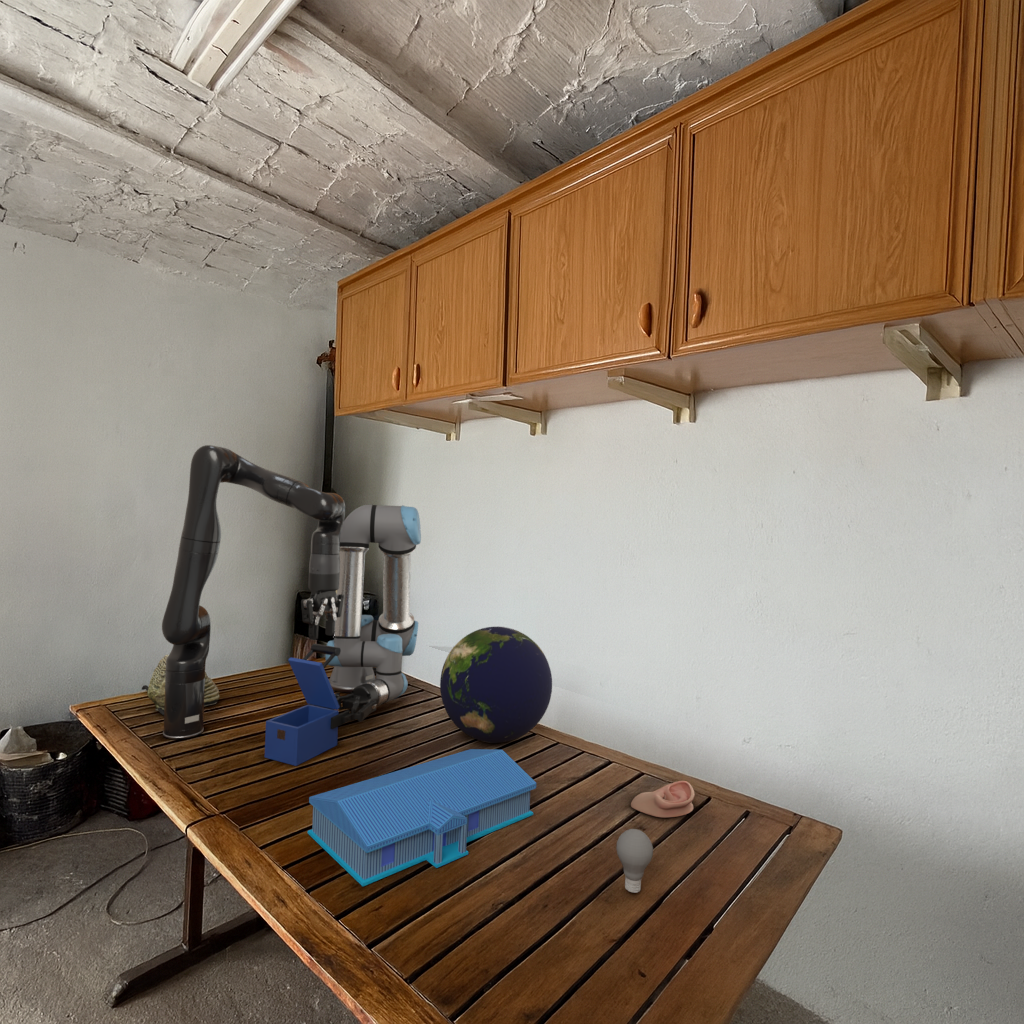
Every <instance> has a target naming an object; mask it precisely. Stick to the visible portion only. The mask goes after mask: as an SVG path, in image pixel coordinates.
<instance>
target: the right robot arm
mask: <svg viewBox="0 0 1024 1024" xmlns="http://www.w3.org/2000/svg"><path fill="white" fill-rule="evenodd" d="M420 519H421V518H420V512H419V510H418V509H417V508H416V507H414V506H406V505H403V504H402V505H383V504H363V505H361V506H359V507H357V508H354V509H353V510H352V511H351V512H350V513H349V514H348V515H347V517H346V518H344V522H343V527H342V531H341V534H340V553H339V554H340V577H339V589H338V590H336V594H342V595H344V601H343V607H342V613H341V617H338V618H337V619H336V621H335V628H334V629H335V630H334V638H333V639H332V640H329V641H327V643H326V646H333V647H339V648H340V649H341V652H340V655H339V656H335V657H334V658H333V659H332V660H331V661H330V662H329V664H328V665H327V666H329V667H333V668H332V672H331V675H330V677H329V682H330V684H331V687H332V689H333V692H336V693H334V694H335V697H336V699H337V701H338V704H339V706H340V707H339V709H338V710H337V711H343V712H341V713H338V715H336V716H334V717H331V729H334V728H336V727H338V728H339V727H340V726H342V725H345V724H346V723H349V722H354V721H356V720H357V722H362V721H364V720H365V719H366V718H367V717H368V716H370V714H372V713H374V712H376V711H377V707H379V706H382V705H384V704H386V703H388V702H391V701H394V700H396V699H398V698H400V697H401V696H402V695H403V694H404V693H406V691H407V689H408V684H409V681H408V679H407V676H406V674H404V673H403V672H402V669H403V668H402V667H403V666H402V665H403V657H410V656H412V655H413V654H414V652H415V649H416V644H417V640H418V639H417V638H418V631H419V622H418V621H417V620H415V617H414V615H413V614H412V613H411V577H412V576H411V575H412V574H411V573H412V571H411V570H412V553H414V551H416V549H417V545H420V544H421V541H422V533H421V532H422V531H421V529H422V528H421V520H420ZM370 543H373V544H378V550H379V551H380V552H381V553H382V555H383V557H382V558H383V560H382V561H383V565H382V567H383V569H382V571H383V573H382V575H383V576H382V578H383V580H382V581H383V582H382V584H383V585H382V586H383V588H382V593H383V594H382V600H383V603H382V604H383V605H382V606H383V607H382V613H381V614H380V615H379V617H378V620H377V619H374V617H373V615H371V614H363V599H364V598H363V596H364V583H365V581H364V580H365V579H364V578H365V563H366V554H367V552H368V551H369V550H370ZM337 611H338V607H337V608H336V612H337ZM330 656H331V655H327V654H325V661H326V660H327V659H328V658H329V657H330ZM341 693H345V695H341ZM346 693H348V694H346ZM309 705H312V704H309ZM314 706H317V705H314ZM319 707H322V706H319ZM323 708H326V707H323ZM328 709H331V708H328Z"/></svg>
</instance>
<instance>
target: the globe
mask: <svg viewBox="0 0 1024 1024" xmlns="http://www.w3.org/2000/svg"><path fill="white" fill-rule="evenodd" d="M551 670H552V669H551V667H550V664H549V660H548V659H547V656H546V655H545V652H544V651H543V650H542V648H541V647H540V646H539V645H538V644H537V643H536V642H535V641H534V640H533V639H532V638H531V637H530V636H528V635H526V634H525V633H523V632H522V631H519V630H517V629H514V628H510V627H508V626H507V627H506V626H500V625H499V626H487V627H482V628H479V629H477V630H474V631H472V632H470V633H469V634H466V635H465V636H464V637H462V638H461V639H460V640H459V641H458V642H457V643H456V644H455V645H454V646H452V648H451V650H450V651H449V653H448V654H447V656H446V658H445V661H444V662H443V666H442V669H441V671H440V672H441V673H440V680H439V691H440V698H441V701H442V705H443V707H444V710H445V712H446V714H447V715H448V717H449V719H450V720H451V722H452V723H453V724H454V725H455V726H456V728H458V729H459V730H460V731H461V732H463V733H464V734H465V735H467V736H469V737H470V738H472V739H475V740H477V741H480V742H484V743H488V744H489V743H490V744H499V743H500V744H501V743H506V742H507V743H508V742H511V741H515V740H517V739H519V738H521V737H523V736H525V735H527V734H528V733H529V732H531V730H533V729H534V728H535V727H536V726H538V724H539V723H540V721H541V720H542V718H543V717H544V716H545V713H546V712H547V710H548V708H549V705H550V702H551V699H552V698H551V697H552V693H553V677H552V671H551Z"/></svg>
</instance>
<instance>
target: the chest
mask: <svg viewBox="0 0 1024 1024" xmlns="http://www.w3.org/2000/svg"><path fill="white" fill-rule="evenodd" d="M339 711H340V710H336V709H328V708H323V707H319V706H314V705H309V704H308V703H307V704H306V705H304V706H301V707H298V708H296V709H293V710H290V711H288V712H286V713H283V714H280V715H278V716H275V717H273V718H270V719H268V720H266V721H265V736H264V737H265V739H264V759H268V760H272V761H275V762H276V761H277V762H279V763H280V762H281V763H284V764H287V765H291V766H294V767H298V766H299V765H301V764H303V763H305V762H307V761H309V760H311V759H313V758H315V757H316V756H318V755H321V754H323V753H325V752H327V751H329V750H331V749H333V748H335V747H336V746H338V740H339V739H338V736H339V735H338V733H339V726H338V727H336V728H334V729H331V717H334V716H336V715H338V714H340V713H339Z"/></svg>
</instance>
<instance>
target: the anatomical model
mask: <svg viewBox="0 0 1024 1024" xmlns="http://www.w3.org/2000/svg"><path fill="white" fill-rule="evenodd" d="M694 799H695V790H694V788H693V785H691V783H690V782H689V781H686V780H679V781H675V782H671V783H668V784H666V785H664V786H662V787H660V788H658V789H656V790H653V791H643V792H640V793H639V794H637V795H636V796H634V798H633V799H632V800H631V802H630V807H631V808H632V809H633V810H635V811H638V812H641V813H643V814H646V815H648V816H652V817H656V818H675V817H682V816H686V815H687V814H690V813H691V812H693V810H694V804H693V803H692V802H693V801H694Z"/></svg>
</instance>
